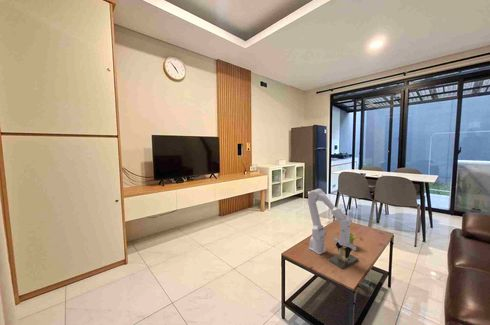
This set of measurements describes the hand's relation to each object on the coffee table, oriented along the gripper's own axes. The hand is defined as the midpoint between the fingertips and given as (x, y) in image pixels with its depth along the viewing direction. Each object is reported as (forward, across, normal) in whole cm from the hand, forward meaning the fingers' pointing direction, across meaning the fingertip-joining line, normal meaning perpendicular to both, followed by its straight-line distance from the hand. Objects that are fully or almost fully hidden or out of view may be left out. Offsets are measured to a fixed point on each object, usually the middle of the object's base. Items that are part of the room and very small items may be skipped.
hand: (343, 255), depth 134 cm
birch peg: (+3, 0, 0) cm, 3 cm away
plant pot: (+4, -10, +20) cm, 23 cm away
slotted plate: (+3, 0, 0) cm, 3 cm away
